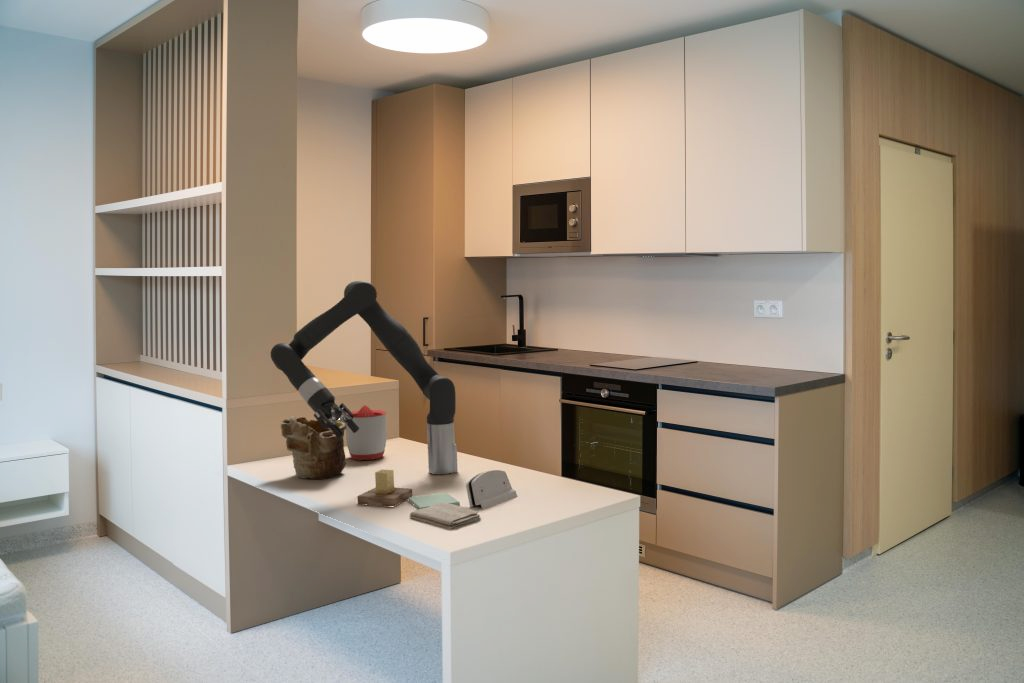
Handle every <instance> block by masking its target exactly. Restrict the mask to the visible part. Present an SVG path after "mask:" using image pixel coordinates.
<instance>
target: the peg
mask: <svg viewBox="0 0 1024 683" xmlns="http://www.w3.org/2000/svg"><path fill="white" fill-rule="evenodd" d="M394 471H395V470H393V469H379V470H378V471H375V473H374V476H375V487H376V494H382V495H389V494H391V493H393V492H394V487H395V477H394V474H395V473H394Z"/></svg>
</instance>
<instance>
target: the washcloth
mask: <svg viewBox="0 0 1024 683" xmlns="http://www.w3.org/2000/svg"><path fill="white" fill-rule="evenodd" d="M478 512H479V511H476V510H475V511H474V510H473V509H471V508H469V507H468V506H461V505H454V504H448V503H444V502H441V503H437V504H434V505H431V506H429V507H427V508H423V509H417V510H414V511H411V512H410V513H409V518H410V519H412V518H414V519H413V520H416V519H418V520H417V521H419V520H422V521H421V522H423V521H425V522H424V523H427V522H428V523H427V524H431V523H433V524H432V525H434V524H435V526H438V525H439V527H441V528H446V529H449V530H452V529H455V528H456V529H457V528H460V527H463V526H466V525H469V524H472V523H475V522H478V521H480V520H481V519H482V518H481V517H480V516H481V515H480V514H478Z"/></svg>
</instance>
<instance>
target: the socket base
mask: <svg viewBox="0 0 1024 683" xmlns="http://www.w3.org/2000/svg"><path fill="white" fill-rule="evenodd" d="M413 495H414V494H413V488H406V487H395V486H394V492H393V493H391V494H389V495H382V494H376V486H375V487H373V488H371V489H370V490H367V491H365V492H363V493H361V494H359V495H357V505H359V504H367V505H366V506H371V505H378V506H377V507H383V506H395V505H397V504H398V505H400V504H402V503H404V502H406V501H408V500H407V499H408V498H410V497H412V496H413ZM413 497H414V496H413ZM405 500H406V501H405ZM403 501H404V502H403ZM401 502H402V503H401ZM399 503H400V504H399ZM398 505H397V506H398ZM395 507H396V506H395Z"/></svg>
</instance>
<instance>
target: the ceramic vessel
mask: <svg viewBox="0 0 1024 683" xmlns="http://www.w3.org/2000/svg"><path fill="white" fill-rule="evenodd" d="M323 422H324V423H325V420H324V421H323ZM335 423H336V424H337V425H338V426H339V427H340V429H341V430H342V431H343V432H344V434H343V436H342V437H341V438H338V437H337V436H336V435H335V433H334V432H333V431H332V430H330V429H328V428H327V429H324V428H323V427H322V425H321V424H320V423H319V422H318V420H317V419H316V420H315V419H310V420H308V419H307V418H306V417H304V416H302V417H295V415H294V416H293V415H292V416H291V417H290V418H288V419H283V420H282V421H281V423H280V430H281V436H282V437H283V438H284V439H286V440H285V441H286V442H285V445H286V450H287V451H289V452H292V462H293V468H294V470H295V471H294V472H295V474H296V475H297V477H298V478H300V479H307V478H310V479H309V480H312V479H313V480H314V479H316V480H321V479H322V478H326V479H329V478H333V477H335V476H337V475H340V474H341V473H342V472H343V471H344V469H345V467H346V464H347V460H346V453H345V448H344V447H345V446H344V445H345V443H344V440H345V439H344V436H345V432H346V429H345V428H346V424H345V423H344V422H339V421H338V420H337V421H335ZM325 424H326V423H325ZM336 424H335V425H336ZM322 480H323V479H322Z"/></svg>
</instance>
